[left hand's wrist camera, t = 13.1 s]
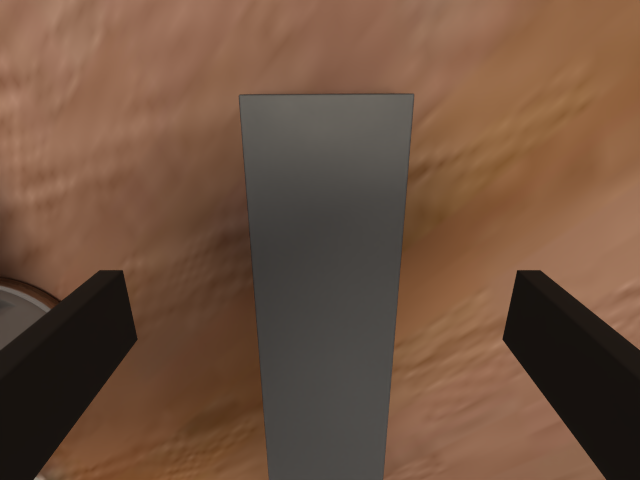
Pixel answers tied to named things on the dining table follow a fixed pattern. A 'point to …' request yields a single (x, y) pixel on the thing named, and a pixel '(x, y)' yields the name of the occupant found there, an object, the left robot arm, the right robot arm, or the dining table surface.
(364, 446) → the slab
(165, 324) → the dining table surface
